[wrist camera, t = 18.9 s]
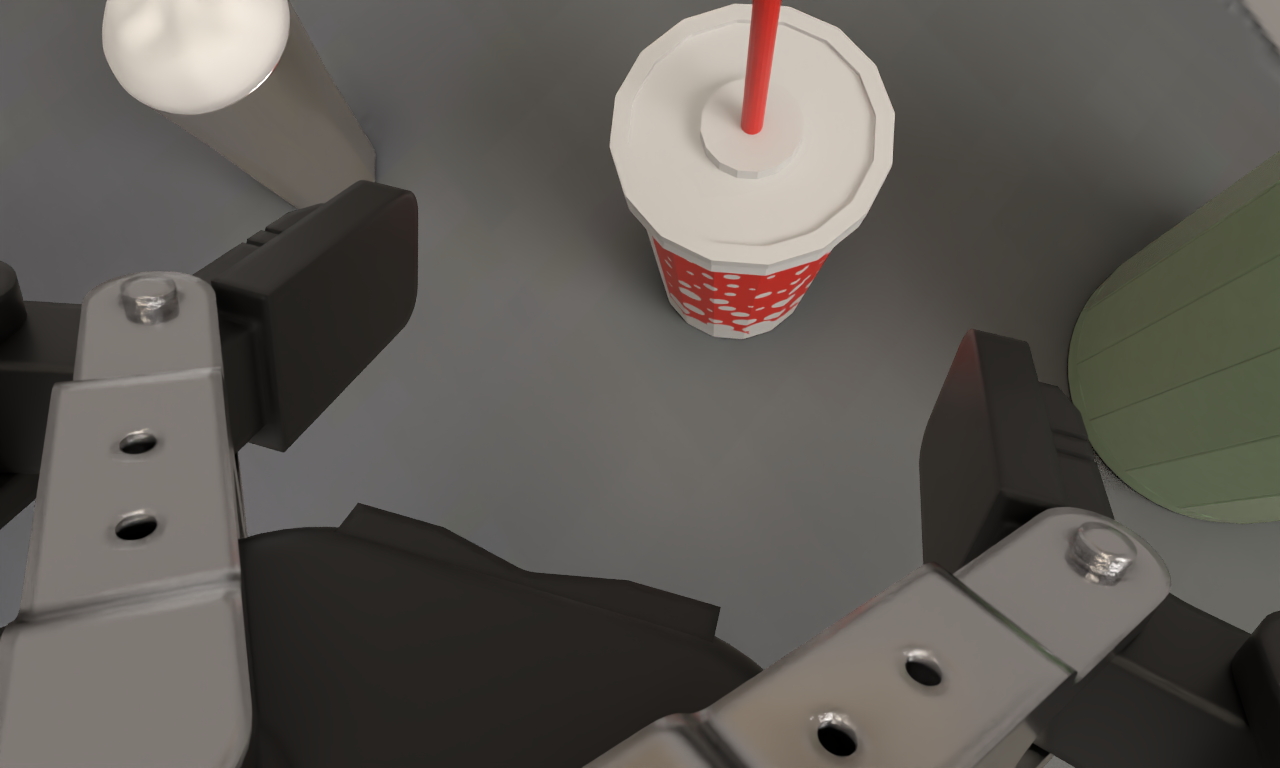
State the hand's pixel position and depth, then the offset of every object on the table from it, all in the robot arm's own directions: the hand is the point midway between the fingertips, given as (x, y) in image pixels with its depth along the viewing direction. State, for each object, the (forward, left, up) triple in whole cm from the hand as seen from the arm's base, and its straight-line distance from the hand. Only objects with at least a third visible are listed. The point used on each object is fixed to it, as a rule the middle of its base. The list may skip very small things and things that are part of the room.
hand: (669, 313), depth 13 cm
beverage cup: (-4, +4, -14) cm, 16 cm away
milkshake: (-14, -6, -14) cm, 21 cm away
